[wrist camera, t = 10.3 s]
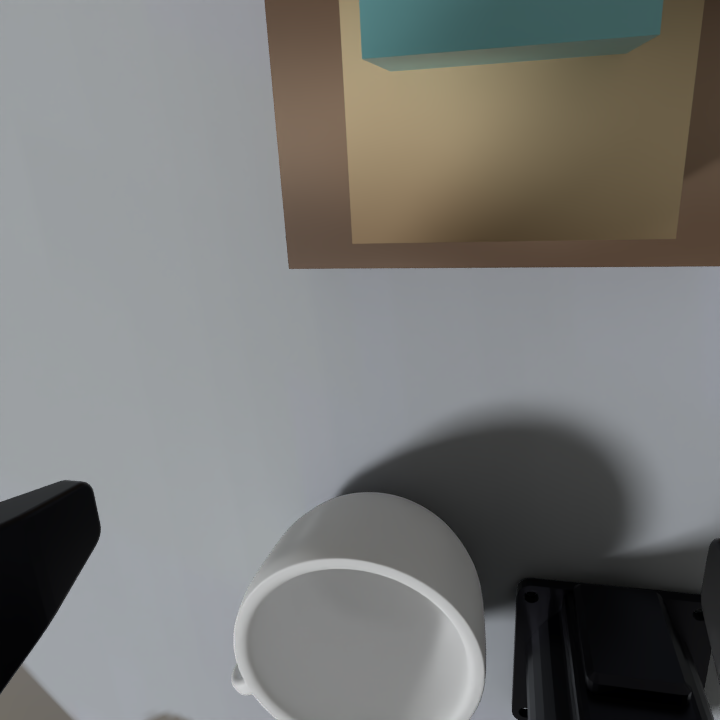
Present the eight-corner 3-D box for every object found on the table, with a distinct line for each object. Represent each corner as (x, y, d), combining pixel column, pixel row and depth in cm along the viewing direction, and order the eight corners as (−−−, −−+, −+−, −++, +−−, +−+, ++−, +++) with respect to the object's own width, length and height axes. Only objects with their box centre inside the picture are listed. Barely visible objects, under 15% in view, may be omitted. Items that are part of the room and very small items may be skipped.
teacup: (410, 424, 22) (382, 513, 17) (531, 586, 23) (539, 714, 18) (210, 540, 25) (138, 640, 20) (324, 674, 27) (283, 800, 22)
